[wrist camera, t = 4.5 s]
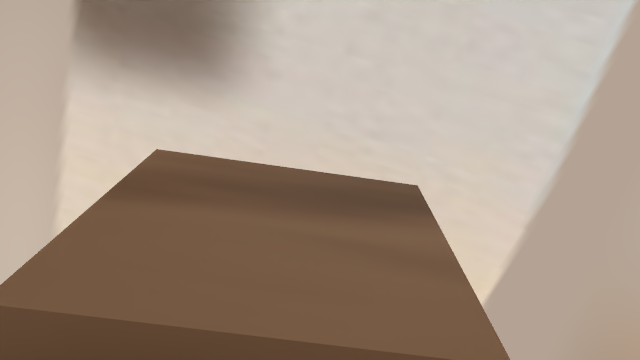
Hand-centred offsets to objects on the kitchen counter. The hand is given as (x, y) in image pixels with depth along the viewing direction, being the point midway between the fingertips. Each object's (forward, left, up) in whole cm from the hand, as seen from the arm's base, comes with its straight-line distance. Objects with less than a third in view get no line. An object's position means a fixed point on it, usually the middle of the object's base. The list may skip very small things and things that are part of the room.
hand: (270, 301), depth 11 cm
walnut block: (0, 0, -1) cm, 1 cm away
